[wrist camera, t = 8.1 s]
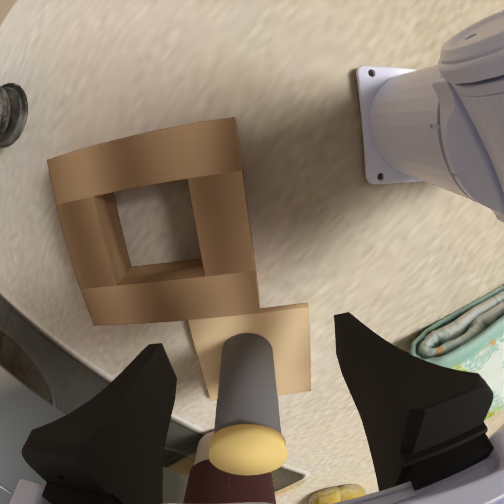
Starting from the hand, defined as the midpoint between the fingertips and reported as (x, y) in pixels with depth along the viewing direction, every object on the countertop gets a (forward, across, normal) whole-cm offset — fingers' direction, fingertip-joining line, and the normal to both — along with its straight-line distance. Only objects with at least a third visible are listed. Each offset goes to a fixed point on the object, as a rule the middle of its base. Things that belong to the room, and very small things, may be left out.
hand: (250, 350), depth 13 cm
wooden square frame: (+10, +5, -4) cm, 12 cm away
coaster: (+10, +1, +9) cm, 14 cm away
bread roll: (+11, -5, +41) cm, 43 cm away
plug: (+10, +2, +8) cm, 13 cm away
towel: (+11, -24, +16) cm, 31 cm away
